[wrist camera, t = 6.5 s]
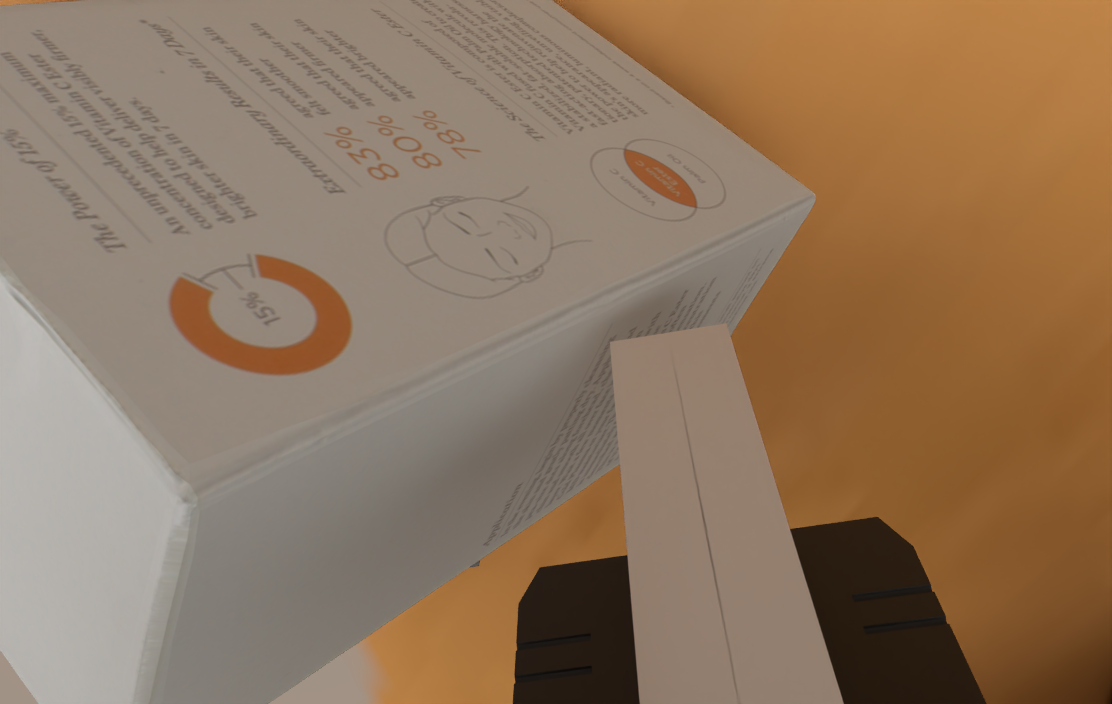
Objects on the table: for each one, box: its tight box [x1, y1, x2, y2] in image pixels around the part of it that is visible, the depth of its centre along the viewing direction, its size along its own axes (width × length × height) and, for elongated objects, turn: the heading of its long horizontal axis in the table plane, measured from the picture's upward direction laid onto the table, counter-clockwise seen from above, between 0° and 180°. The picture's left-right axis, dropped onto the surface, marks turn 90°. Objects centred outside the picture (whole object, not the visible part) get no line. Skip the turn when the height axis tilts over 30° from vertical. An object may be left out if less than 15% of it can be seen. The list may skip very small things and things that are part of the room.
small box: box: [0, 0, 816, 704], centre depth 17 cm, size 8×6×13 cm
